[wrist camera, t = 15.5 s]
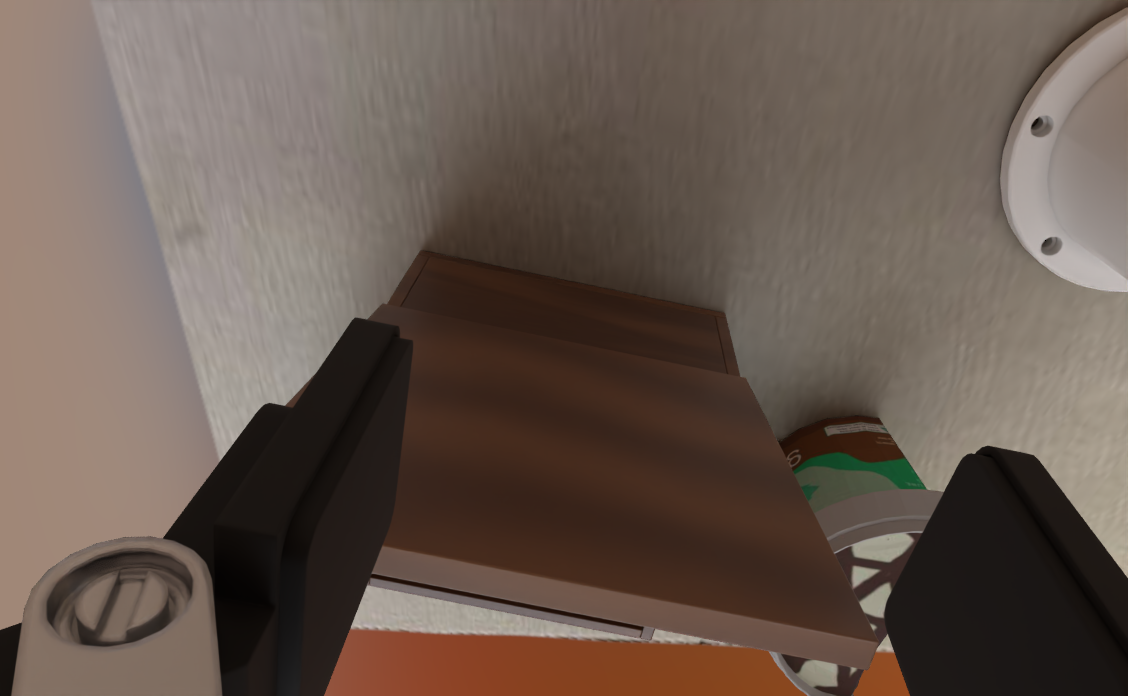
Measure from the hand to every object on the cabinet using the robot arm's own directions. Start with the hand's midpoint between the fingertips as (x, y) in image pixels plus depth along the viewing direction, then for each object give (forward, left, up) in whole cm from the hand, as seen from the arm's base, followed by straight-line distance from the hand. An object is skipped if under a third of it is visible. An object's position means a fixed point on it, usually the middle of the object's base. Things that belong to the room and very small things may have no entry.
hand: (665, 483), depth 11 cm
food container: (-13, +18, -28) cm, 36 cm away
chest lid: (+1, +8, -13) cm, 15 cm away
